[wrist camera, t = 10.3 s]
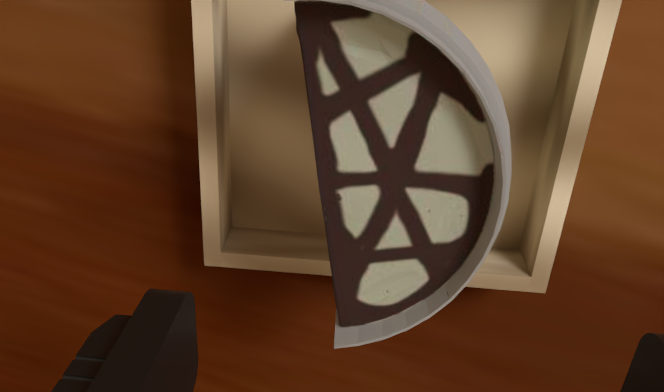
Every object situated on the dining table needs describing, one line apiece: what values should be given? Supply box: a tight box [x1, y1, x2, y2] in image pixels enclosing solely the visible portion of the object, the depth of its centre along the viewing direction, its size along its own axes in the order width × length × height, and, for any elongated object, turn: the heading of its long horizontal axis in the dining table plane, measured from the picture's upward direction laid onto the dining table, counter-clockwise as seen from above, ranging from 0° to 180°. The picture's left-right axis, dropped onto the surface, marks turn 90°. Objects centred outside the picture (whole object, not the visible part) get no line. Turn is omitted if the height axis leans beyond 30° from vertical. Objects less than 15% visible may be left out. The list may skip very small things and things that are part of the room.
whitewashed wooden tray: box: [191, 0, 622, 293], centre depth 25 cm, size 16×16×4 cm
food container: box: [284, 0, 512, 349], centre depth 21 cm, size 12×6×10 cm, turn 7°
